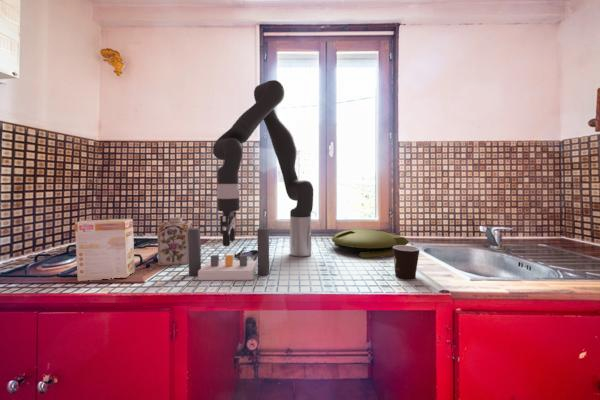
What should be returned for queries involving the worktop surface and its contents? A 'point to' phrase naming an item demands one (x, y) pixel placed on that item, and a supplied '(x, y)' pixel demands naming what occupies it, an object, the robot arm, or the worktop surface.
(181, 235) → the decorative jar
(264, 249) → the post
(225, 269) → the switch panel
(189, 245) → the post
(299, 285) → the worktop surface
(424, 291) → the worktop surface
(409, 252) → the coffee mug
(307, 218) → the robot arm
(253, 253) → the sunglasses
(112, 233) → the coffeecake box
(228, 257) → the middle paddle
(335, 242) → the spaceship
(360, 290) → the worktop surface
